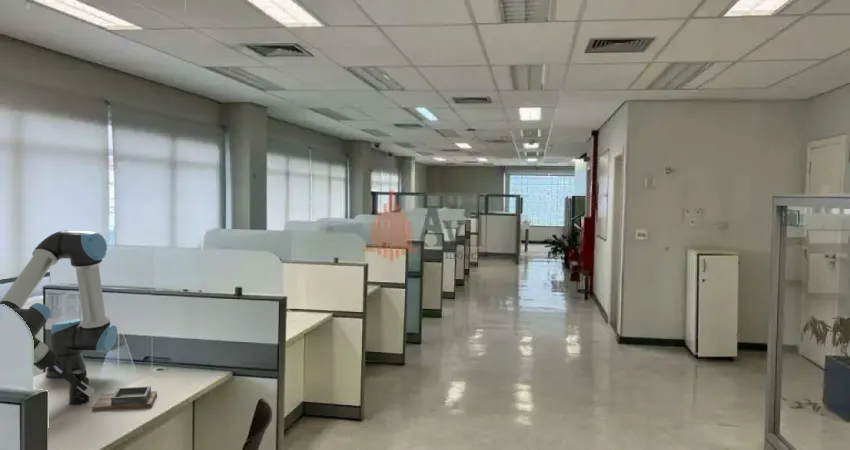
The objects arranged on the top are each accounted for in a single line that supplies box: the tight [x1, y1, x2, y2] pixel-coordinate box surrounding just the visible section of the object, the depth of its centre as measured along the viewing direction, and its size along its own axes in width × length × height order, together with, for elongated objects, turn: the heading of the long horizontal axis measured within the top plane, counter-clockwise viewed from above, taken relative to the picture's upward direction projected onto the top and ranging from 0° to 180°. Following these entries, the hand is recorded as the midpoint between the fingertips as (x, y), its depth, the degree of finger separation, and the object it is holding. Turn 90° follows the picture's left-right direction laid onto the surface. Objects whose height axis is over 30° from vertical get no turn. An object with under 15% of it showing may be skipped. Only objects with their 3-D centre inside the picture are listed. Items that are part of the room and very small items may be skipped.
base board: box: [91, 386, 158, 412], centre depth 239 cm, size 15×20×4 cm
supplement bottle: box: [68, 369, 90, 406], centre depth 237 cm, size 7×7×12 cm
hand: (89, 390), depth 240 cm, fingers closed on supplement bottle, 7 cm apart
